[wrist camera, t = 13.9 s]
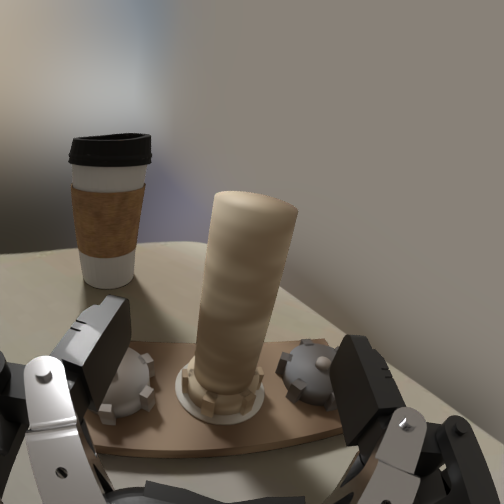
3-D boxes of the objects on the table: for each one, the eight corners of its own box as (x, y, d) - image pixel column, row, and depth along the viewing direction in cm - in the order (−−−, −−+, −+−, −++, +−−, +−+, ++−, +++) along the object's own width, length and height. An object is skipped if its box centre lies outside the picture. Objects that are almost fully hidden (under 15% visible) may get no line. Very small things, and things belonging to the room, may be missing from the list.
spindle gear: (185, 418, 14) (202, 212, 9) (179, 362, 18) (194, 183, 13) (267, 413, 15) (333, 226, 11) (249, 361, 19) (290, 196, 15)
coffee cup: (158, 284, 29) (171, 137, 23) (85, 304, 23) (81, 136, 17) (126, 252, 34) (134, 132, 28) (65, 265, 28) (63, 132, 22)
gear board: (65, 447, 10) (46, 419, 9) (84, 347, 18) (77, 314, 17) (367, 425, 16) (389, 398, 15) (319, 348, 24) (331, 319, 23)
